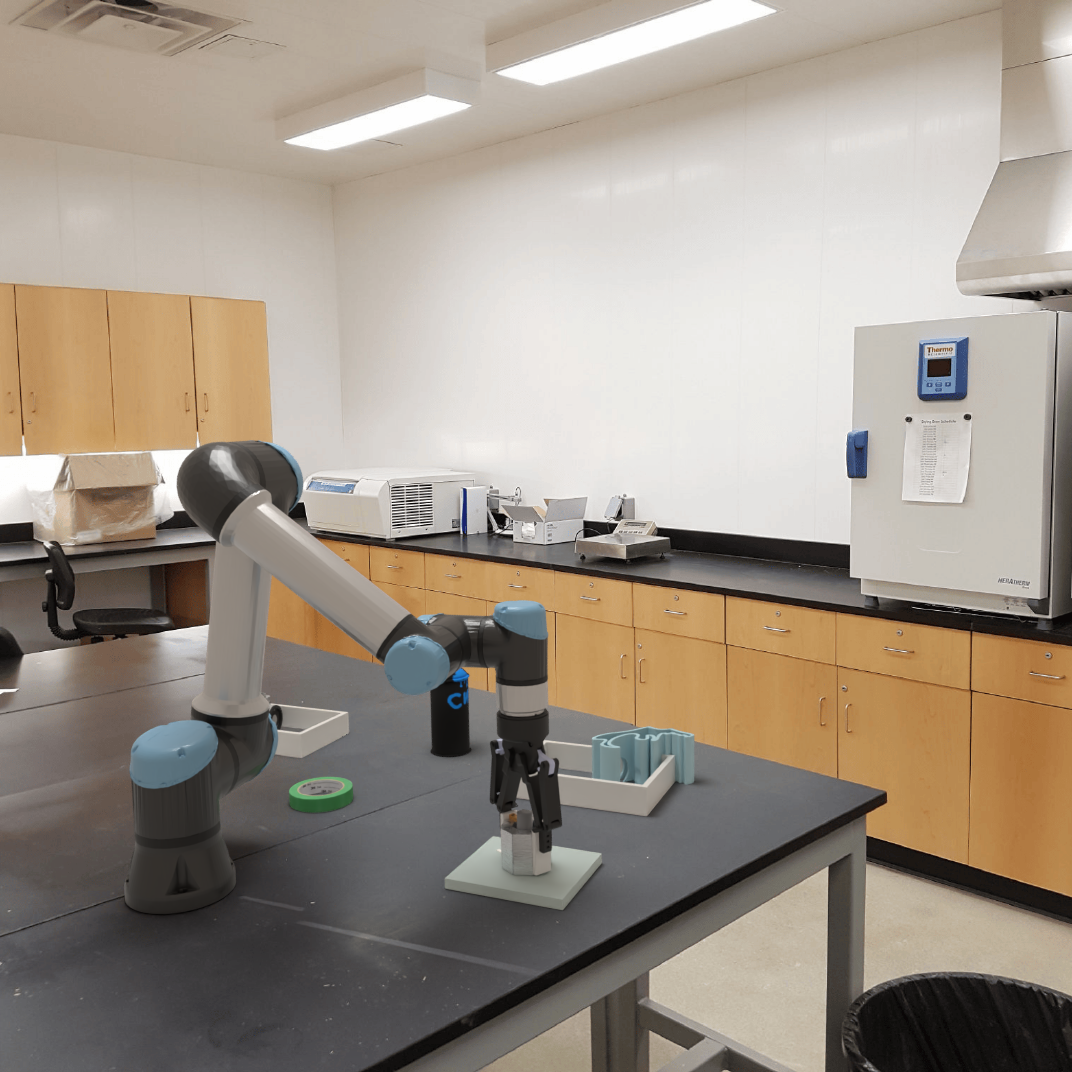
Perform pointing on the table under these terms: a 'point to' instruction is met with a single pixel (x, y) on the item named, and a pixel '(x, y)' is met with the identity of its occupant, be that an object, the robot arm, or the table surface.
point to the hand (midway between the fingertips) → (525, 862)
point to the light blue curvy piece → (642, 754)
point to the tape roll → (311, 803)
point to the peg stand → (541, 890)
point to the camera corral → (309, 729)
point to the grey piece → (516, 847)
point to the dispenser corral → (604, 782)
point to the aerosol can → (450, 716)
